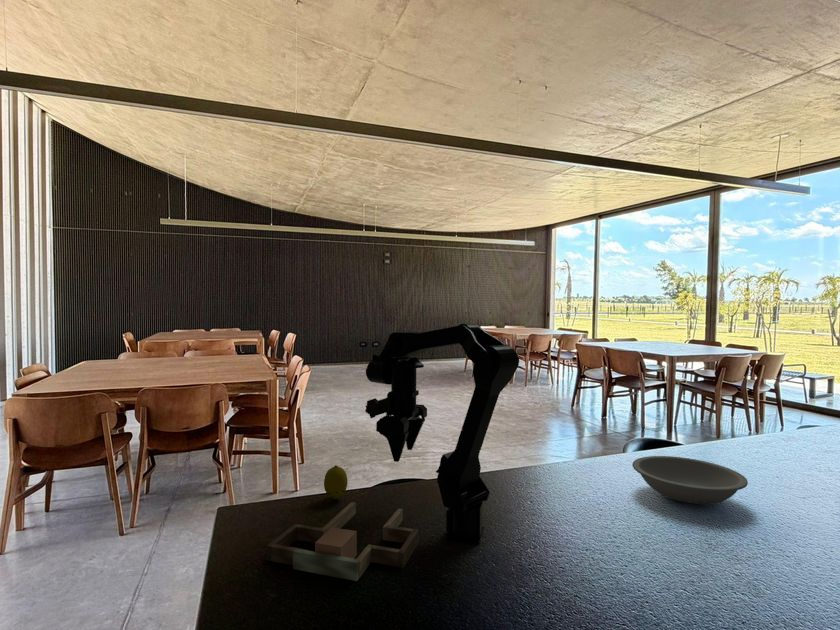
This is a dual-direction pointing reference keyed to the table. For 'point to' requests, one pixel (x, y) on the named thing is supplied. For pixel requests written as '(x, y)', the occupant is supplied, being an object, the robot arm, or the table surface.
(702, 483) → the soup bowl
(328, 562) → the box
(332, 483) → the lemon
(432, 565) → the table surface
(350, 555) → the block
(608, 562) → the table surface
